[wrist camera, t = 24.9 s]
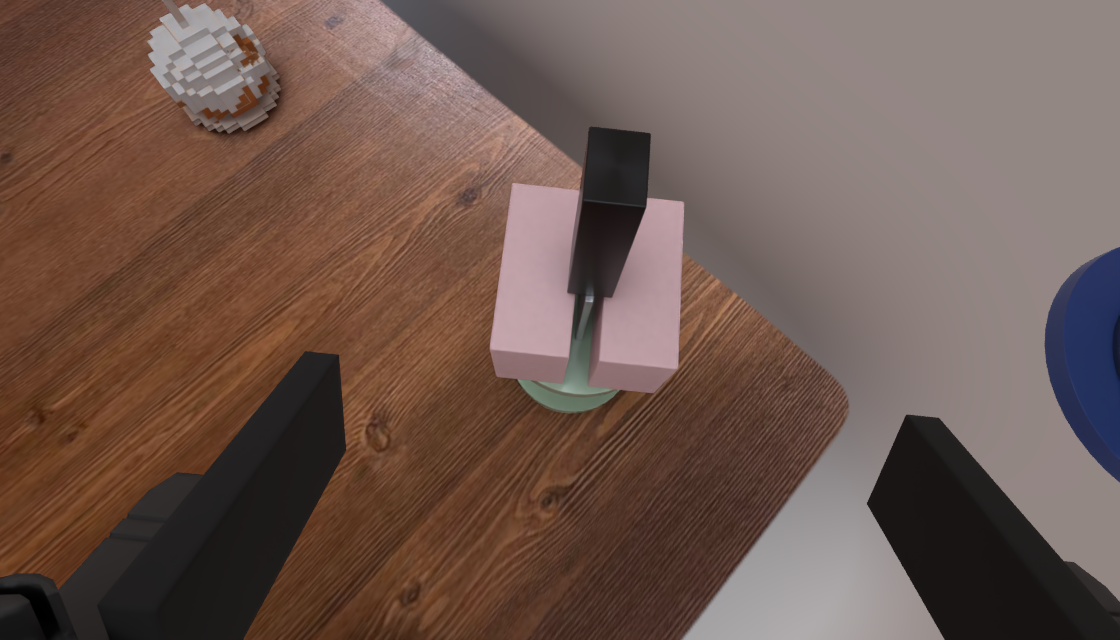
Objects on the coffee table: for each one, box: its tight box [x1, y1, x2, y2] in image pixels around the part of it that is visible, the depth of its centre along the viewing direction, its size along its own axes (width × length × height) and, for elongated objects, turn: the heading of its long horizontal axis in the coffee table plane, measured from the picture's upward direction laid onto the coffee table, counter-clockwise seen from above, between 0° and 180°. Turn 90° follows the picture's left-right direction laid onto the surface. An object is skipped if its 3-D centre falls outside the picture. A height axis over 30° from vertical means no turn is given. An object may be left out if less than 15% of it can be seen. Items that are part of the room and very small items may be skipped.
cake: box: [490, 183, 684, 393], centre depth 33 cm, size 9×9×6 cm
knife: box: [567, 127, 651, 340], centre depth 28 cm, size 2×4×16 cm, turn 175°
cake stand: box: [517, 294, 619, 414], centre depth 41 cm, size 10×10×10 cm
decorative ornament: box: [147, 0, 281, 134], centre depth 44 cm, size 8×8×15 cm
